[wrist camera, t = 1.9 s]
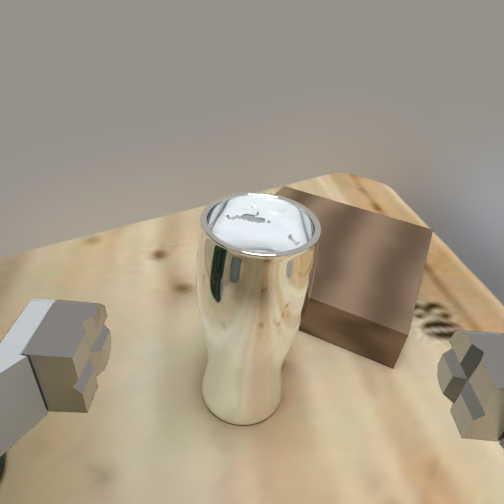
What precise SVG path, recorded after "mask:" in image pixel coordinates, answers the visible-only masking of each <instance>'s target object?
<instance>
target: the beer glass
mask: <svg viewBox="0 0 504 504" xmlns="http://www.w3.org/2000/svg"><path fill="white" fill-rule="evenodd" d="M320 234H321V225H320V222H319V220H318V218H317V217H316V216H315V214H314V213H313V212H312V211H311V210H309V209H308V208H307V207H305V206H304V205H302V204H300V203H298V202H296V201H294V200H292V199H289V198H286V197H283V196H279V195H275V194H269V193H261V192H243V193H235V194H230V195H226V196H223V197H221V198H218V199H216V200H214V201H212V202H211V203H210V204H208V205H207V206H206V208H205V209H204V210H203V212H202V214H201V228H200V237H199V245H198V255H197V272H196V287H197V302H198V308H199V315H200V320H201V324H202V329H203V333H204V337H205V341H206V346H207V351H208V360H207V361H208V363H207V367H206V370H205V373H204V376H203V380H202V395H203V399H204V402H205V404H206V406H207V407H208V409H209V410H210V411H211V412H212V413H213V414H214V415H215V416H217V417H218V418H220V419H221V420H223V421H225V422H228V423H231V424H235V425H251V424H256V423H259V422H261V421H263V420H265V419H267V418H268V417H269V416H271V415H272V414H273V413H274V411H275V410H276V409H277V407H278V405H279V403H280V401H281V397H282V376H281V370H282V365H283V361H284V359H285V357H286V355H287V353H288V351H289V349H290V347H291V345H292V343H293V340H294V338H295V336H296V334H297V332H298V330H299V328H300V326H301V323H302V321H303V318H304V316H305V313H306V310H307V307H308V303H309V300H310V296H311V292H312V287H313V281H314V276H315V269H316V262H317V253H318V244H319V237H320Z"/></svg>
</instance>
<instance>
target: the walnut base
mask: <svg viewBox="0 0 504 504" xmlns="http://www.w3.org/2000/svg"><path fill="white" fill-rule="evenodd" d="M275 195H279V196H283V197H286V198H289V199H292V200H294V201H296V202H298V203H300V204H302V205H304V206H305V207H307V208H308V209H309V210H311V211H312V212H313V213H314V214H315V216H316V217H317V218H318V220H319V222H320V225H321V234H320V237H319V244H318V253H317V262H316V269H315V276H314V281H313V287H312V292H311V296H310V300H309V303H308V307H307V310H306V313H305V316H304V318H303V321H302V323H301V326H300V328H299V330H301V331H304V332H306V333H308V334H311V335H313V336H316V337H318V338H321V339H323V340H325V341H328V342H330V343H333V344H335V345H338V346H340V347H342V348H345V349H347V350H350V351H352V352H355V353H357V354H359V355H362V356H364V357H367V358H369V359H372V360H374V361H377V362H379V363H381V364H384V365H386V366H389V367H391V368H394V366H395V363H396V361H397V359H398V357H399V354H400V352H401V350H402V348H403V346H404V343H405V341H406V339H407V337H408V334H409V330H410V325H411V321H412V317H413V313H414V308H415V304H416V300H417V296H418V292H419V287H420V283H421V279H422V275H423V270H424V266H425V262H426V258H427V254H428V249H429V245H430V241H431V237H432V232H433V230H432V229H428V228H425V227H421V226H418V225H415V224H411V223H408V222H404V221H401V220H398V219H394V218H391V217H387V216H384V215H381V214H377V213H374V212H370V211H367V210H363V209H360V208H357V207H353V206H350V205H346V204H343V203H340V202H336V201H333V200H329V199H326V198H323V197H319V196H316V195H312V194H309V193H306V192H302V191H299V190H295V189H292V188H288V187H285V186H283V187H282V188H281V189H280V190H279V191H278V192H277V193H276V194H275Z"/></svg>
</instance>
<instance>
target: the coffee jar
mask: <svg viewBox="0 0 504 504" xmlns="http://www.w3.org/2000/svg"><path fill="white" fill-rule="evenodd" d="M4 461H5V453H4V454H3V455H2V456H1V457H0V475H1V472H2V470H3V466H4Z"/></svg>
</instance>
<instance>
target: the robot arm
mask: <svg viewBox="0 0 504 504" xmlns="http://www.w3.org/2000/svg"><path fill="white" fill-rule="evenodd" d="M106 318H107V313H106V309H105V305H103V304H98V303H88V302H78V301H67V300H52V299H43V298H35V299H33V300H32V301H30V302H29V303H28V305H27V306H26V307H25V309H24V310H23V312H22V313H21V314H20V316H19V317H18V319H17V320H16V321H15V323H14V324H13V326H12V327H11V328H10V330H9V331H8V333H7V334H6V336H5V337H4V338H3V340H2V341H1V343H0V457H1V456H2V455H3V454H4V453H5V452H6V451H7V450H8V449H9V448H11V447H12V446H13V445H14V444H15V443H16V442H17V441H18V440H19V439H20V438H22V437H23V436H24V435H25V434H26V433H27V432H28V431H29V430H30V429H31V428H33V427H34V426H35V425H36V424H37V423H38V422H39V421H40V420H41V419H42V418H44V417H45V416H46V415H47V414H48V412H47V411H54V412H79V413H88V410H89V408H90V405H91V403H92V400H93V398H94V395H95V393H96V390H97V388H98V385H97V380H96V376H97V375H99V374H100V373H101V372H103V371H104V370H105V367H106V365H107V362H108V359H109V354H110V349H111V335H110V330H109V329H108V328H107V327H106V326H105V325H104V323H105V320H106ZM449 342H450V344H451V346H452V349H450V350H449V351H447V352H445V353H444V354H442V357H441V359H440V361H439V363H438V373H437V376H438V381H439V385H440V388H441V390H442V393H443V394H444V395H445V396H446V397H447V398H448V399H449V400H450V401H452V402H453V404H452V407H451V410H450V412H451V414H452V417H453V419H454V421H455V424H456V426H457V428H458V431H459V433H460V435H461V438H466V439H477V440H487V441H498V442H500V443H499V444H500V445H501V446H502V447H503V448H504V333H496V332H480V331H465V330H458V331H457V332H455V333H454V334H453V336H452V338H451V339H450V341H449Z"/></svg>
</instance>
